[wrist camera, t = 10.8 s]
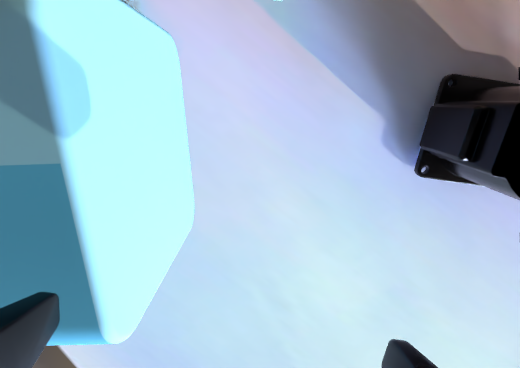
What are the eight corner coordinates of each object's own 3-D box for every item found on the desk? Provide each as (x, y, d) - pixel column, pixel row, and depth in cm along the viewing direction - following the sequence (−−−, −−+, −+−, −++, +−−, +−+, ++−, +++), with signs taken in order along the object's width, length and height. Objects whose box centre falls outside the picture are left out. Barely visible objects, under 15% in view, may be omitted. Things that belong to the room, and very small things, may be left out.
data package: (103, 39, 18) (-192, -69, 6) (177, 36, 18) (17, -80, 6) (134, 222, 21) (-19, 371, 10) (197, 220, 21) (117, 368, 9)
